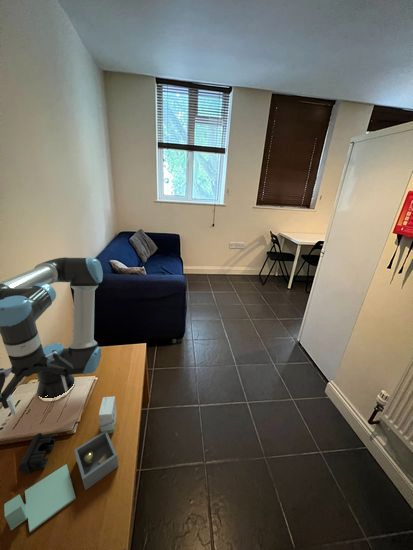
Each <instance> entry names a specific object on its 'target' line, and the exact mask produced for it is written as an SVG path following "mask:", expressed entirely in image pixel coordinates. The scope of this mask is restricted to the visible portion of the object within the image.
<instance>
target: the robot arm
mask: <svg viewBox="0 0 413 550" xmlns="http://www.w3.org/2000/svg"><path fill="white" fill-rule="evenodd" d="M102 267H103V266H102V264H101V261H100V260H99V259H97V258H94V257H93V258H91V257H67V256H66V257H65V256H64V257H58V258H57V257H56V258H52V259H49V260H45V261H44V262H40V263H39V264H36V265H35V266H34V268H32V269H29V270H27V271H25V272H22V273H20V274H18V275H15V276H13V277H10V278H8V279H6V280H2V281H0V335H1V339H2V342H3V346H4V348H5V351H6V354H7V355H8V356H7V357H8V359H9V362H10V365H11V367H9V368H4V367H3V368H0V403H1V405H2V407H3V409H5V410H6V409H9V411H10V413H11V415H12V416H13V417H15V416H16V415H17V408H16V405H15V403H14V401H13V398H12V396H11V395H12V393H13V392H14V390H15V389H16V388H17V386H18V385H19V383H21V382H22V381H23V379H24V377H25V378H28V377H30V376H33V375H35V374H36V375H37V378H38V385H37V388H36V389H37V390H36V393H37V394H36V395H37V397H38V396H40V397H42V398H54V397H57V396H59V395H62V394H63V393H65V392H67V391H68V390H69V389H70V388H71V387H72V386H73V384H74V381H75V377H74V375H87V374H88V375H89V374H93V373H95V372H96V371H97V369H98V367H99V364H100V361H101V357H102V348H101V347H100V346H98V342H97V341H96V340H95V339H94V338H95V337H94V335H95V293H96V292H95V291H96V289H97V288H98V287H99V284H101V283H102V282H103V278H104V272H103V268H102ZM54 283H70V284H69V285H70V288H72V290H73V321H72V322H73V323H72V324H73V325H72V342H71V343H70V344H69V345H68V347H67V348H65V347H64V345H63V344H62V343H60V342H59V343H58V342H55V343H51V344H48V345H45V346H43V345H42V341H41V337H40V333H39V330H38V328H37V323H36V321H37V320H38V319H39V318H40V317H41V316H42V315H43V314H44V313H45V312H46V311H47V310H48V309H49V307H51V305H52V304H53V302H54V301H55V299H56V297H57V291H56V290H55V289H54V287H53V286H52V284H54ZM11 373H12V374H13V377H12V378H11V380H10V381H9V382H8V384H7V385H6V386H5V383H6V379H7V378H8V377H9V376H10V374H11ZM75 382H76V381H75ZM4 386H5V388H4ZM3 388H4V389H3ZM2 390H3V391H2ZM47 395H48V396H47ZM45 396H47V397H45Z"/></svg>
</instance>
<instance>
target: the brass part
mask: <svg viewBox="0 0 413 550" xmlns="http://www.w3.org/2000/svg"><path fill="white" fill-rule="evenodd" d="M84 461H85V465H86V466H87V467H89V466H91V465H92V464H93V463H94V455H93V452H92V451H87V452H86V453H85V454H84Z"/></svg>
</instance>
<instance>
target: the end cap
mask: <svg viewBox="0 0 413 550" xmlns="http://www.w3.org/2000/svg"><path fill="white" fill-rule="evenodd" d="M54 436H55V435H54V434H53V433H51V434H45V435H44V434H42V432H39V433H37V434H35V435H33V437H32V439H31V442H30V444H29V446H28V447H27V450H26V452H24V453H25V454H24V456H23V458H22V460H21V461H20V464H19V465H18V471H19V472H21V473H22V474H32V473H33V472H32V471H35V470H39V469H40V470H41V469H44V468H45V467H46V466H47V463H48V460H49V458H48V457H47V458H44V457H45V454H46V452H49V451H50V452H51V451H53V448H54V445H55V442H56V440H55V438H54Z"/></svg>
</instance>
